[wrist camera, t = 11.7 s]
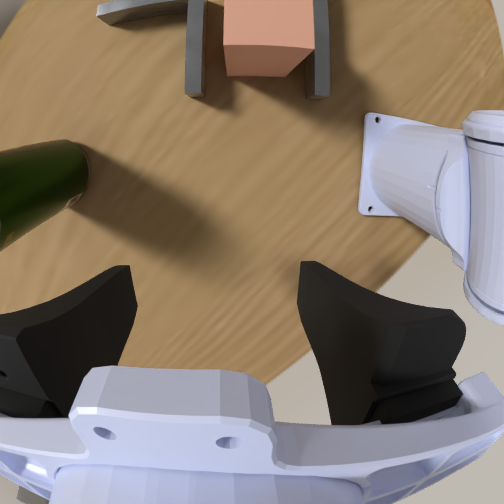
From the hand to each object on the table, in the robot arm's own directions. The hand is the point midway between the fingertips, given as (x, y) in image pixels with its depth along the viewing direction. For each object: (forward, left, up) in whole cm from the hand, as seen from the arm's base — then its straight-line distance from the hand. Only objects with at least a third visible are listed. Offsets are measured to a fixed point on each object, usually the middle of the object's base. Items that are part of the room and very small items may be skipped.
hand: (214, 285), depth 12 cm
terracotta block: (-2, -12, -10) cm, 16 cm away
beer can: (+13, -4, -11) cm, 17 cm away
